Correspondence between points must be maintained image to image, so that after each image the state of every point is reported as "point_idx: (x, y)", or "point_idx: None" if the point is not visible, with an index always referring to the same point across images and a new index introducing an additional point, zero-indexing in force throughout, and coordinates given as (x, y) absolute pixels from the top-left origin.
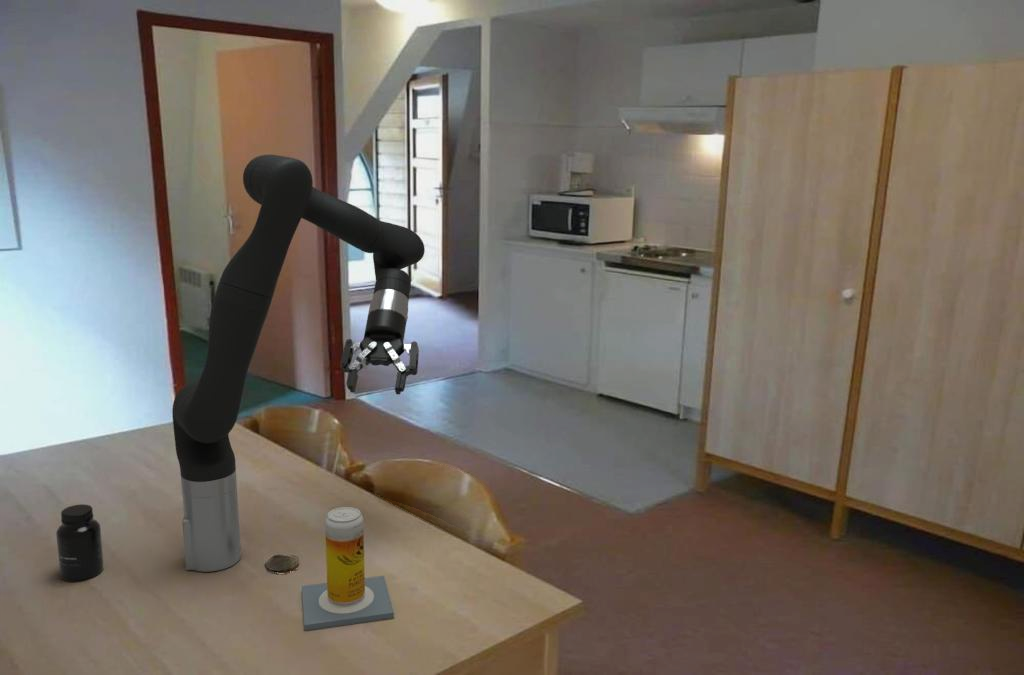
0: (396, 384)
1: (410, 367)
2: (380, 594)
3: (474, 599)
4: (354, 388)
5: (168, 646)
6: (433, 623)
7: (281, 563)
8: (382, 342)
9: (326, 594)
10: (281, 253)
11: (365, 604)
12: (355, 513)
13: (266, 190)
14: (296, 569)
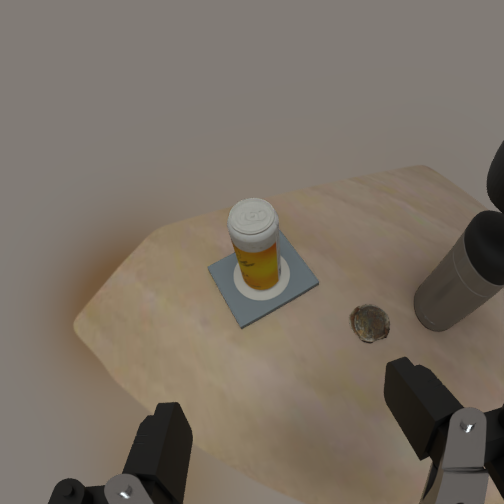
0: (165, 415)
1: (78, 485)
2: (230, 290)
3: (142, 317)
4: (391, 396)
5: (364, 193)
6: (172, 272)
7: (370, 320)
8: None
9: (284, 273)
10: None
11: (237, 268)
12: (238, 224)
13: None
14: (350, 320)
